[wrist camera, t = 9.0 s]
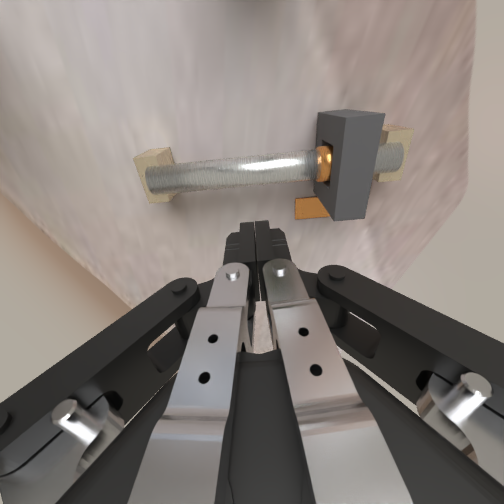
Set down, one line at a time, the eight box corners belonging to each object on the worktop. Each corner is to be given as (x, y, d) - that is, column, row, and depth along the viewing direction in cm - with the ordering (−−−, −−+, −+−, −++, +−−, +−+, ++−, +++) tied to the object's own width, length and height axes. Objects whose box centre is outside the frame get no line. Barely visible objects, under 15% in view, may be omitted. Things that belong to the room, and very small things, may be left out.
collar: (313, 191, 30) (333, 221, 23) (317, 112, 25) (346, 117, 18) (336, 189, 30) (364, 218, 23) (345, 109, 25) (385, 113, 18)
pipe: (175, 228, 34) (160, 254, 28) (150, 149, 28) (125, 161, 22) (370, 211, 32) (395, 235, 27) (388, 124, 26) (425, 131, 21)
